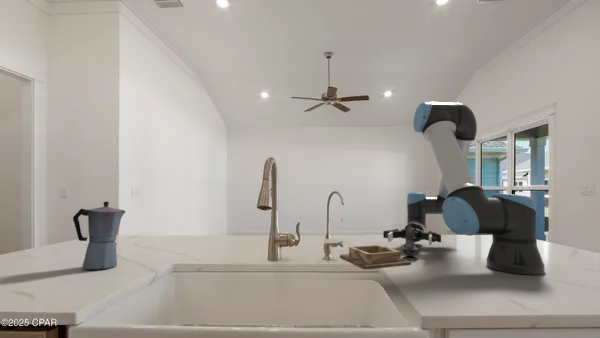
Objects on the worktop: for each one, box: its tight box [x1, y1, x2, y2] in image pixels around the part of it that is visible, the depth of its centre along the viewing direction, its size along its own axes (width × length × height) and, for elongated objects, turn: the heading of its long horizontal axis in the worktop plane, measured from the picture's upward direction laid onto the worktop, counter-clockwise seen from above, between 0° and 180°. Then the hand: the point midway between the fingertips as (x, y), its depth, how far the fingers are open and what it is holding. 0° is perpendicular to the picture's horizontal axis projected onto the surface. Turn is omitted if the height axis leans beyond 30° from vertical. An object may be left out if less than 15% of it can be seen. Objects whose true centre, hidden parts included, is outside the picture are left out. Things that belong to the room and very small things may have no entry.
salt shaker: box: [401, 225, 420, 261], centre depth 115 cm, size 6×6×12 cm
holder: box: [339, 244, 412, 270], centre depth 111 cm, size 17×17×4 cm
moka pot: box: [72, 201, 126, 270], centre depth 99 cm, size 10×15×20 cm, turn 155°
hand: (409, 239), depth 113 cm, fingers open, 13 cm apart
